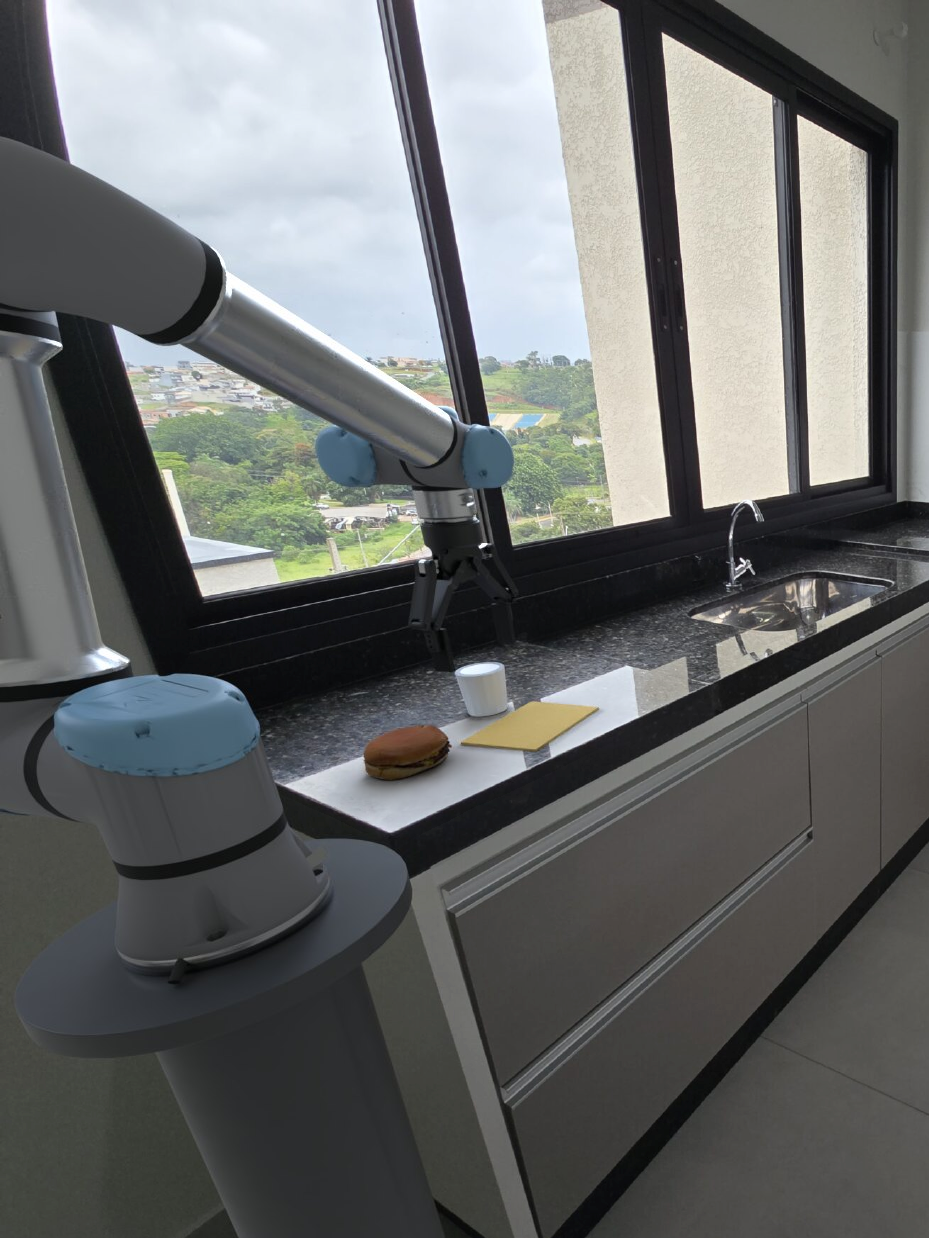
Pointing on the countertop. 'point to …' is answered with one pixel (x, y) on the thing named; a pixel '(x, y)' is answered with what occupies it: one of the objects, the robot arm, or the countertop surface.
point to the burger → (405, 752)
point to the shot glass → (483, 688)
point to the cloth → (530, 726)
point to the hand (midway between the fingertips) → (478, 656)
